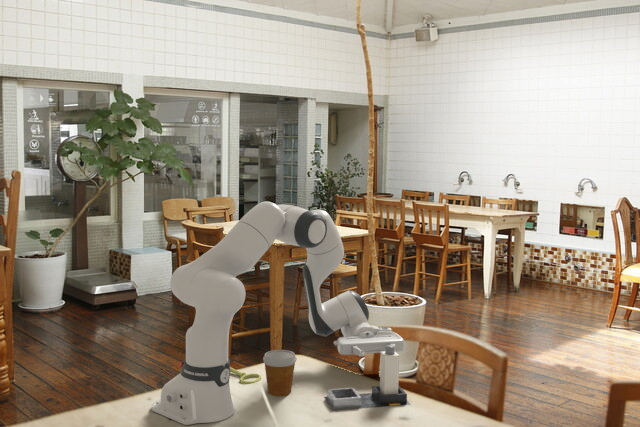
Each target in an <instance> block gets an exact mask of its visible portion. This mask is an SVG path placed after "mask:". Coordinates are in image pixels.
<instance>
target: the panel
mask: <svg viewBox="0 0 640 427" xmlns="http://www.w3.org/2000/svg"><path fill="white" fill-rule="evenodd" d="M326 393H327V394H326V396H323V398H324V400H325V401H326V402H327V404H328V406H329V408H330V409H331V410H332V411H331V412H335V411H346V410H359V409H373V408H386V407H399V406H409V405H411V403H410V402H409V401H408V394H407V392H406V391H405V390H404V389H403V388H402V387H401V386H400V385H399V384H398V394H387V395H382V394H381V393H380V385H372V386H371V392H370V393H369V392H367V393H366V392H365V393H359V392H358V391H357V390H356V389H355V387H344V388H343V387H342V388H341V387H340V388H329V389H327V392H326Z"/></svg>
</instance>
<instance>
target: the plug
mask: <svg viewBox="0 0 640 427" xmlns="http://www.w3.org/2000/svg"><path fill="white" fill-rule="evenodd" d="M379 369H380V370H379V374H380V375H379V376H380V378H379V386H380V393H381V394H382V395H387V394H398V385H399V384H400V383H399V379H400V378H399V377H400V376H399V375H400V374H399V373H400V354H398V353H397V352H395V346H393V345H386V346H385V351H382V352H381V353H380V368H379Z"/></svg>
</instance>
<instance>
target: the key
mask: <svg viewBox="0 0 640 427" xmlns="http://www.w3.org/2000/svg"><path fill="white" fill-rule="evenodd" d="M230 373H233V374H236V376H239V377H240V378H239V383H241V384H244V385H245V384H246V385H249V384H255V383H258V382H260V381H261V380H262V375H261V374H259V373H248V374H246V372H241V371H240V370H237V369H235V368H233V367H231V366H230ZM249 378H256V379H254V380H247V379H249Z"/></svg>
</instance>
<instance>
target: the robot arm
mask: <svg viewBox="0 0 640 427" xmlns="http://www.w3.org/2000/svg"><path fill="white" fill-rule="evenodd" d="M275 240H277V241H279V242H282V243H285V244H286V245H291V246H295V247H301V248H303V249H305V250H306V257H307V258H306V261H305V264H304V266H303V267H302V281H303V287H304V293H305V300H306V303H307V304H306V305H307V315H308V321H309V325H310V328H311V330H312V331H313V332H314V334H315V335H319V336H320V337H328V336H329V335H331V334H333V333H335V332H336V331H338V330H340V331H341V333H342V336H341V337H340V336H339V337H338V338H337V340H333V345H334V346H335V347H337V351H338V353H339V355H342V356H353V355H356V356H359V357H365V356H366V355H368V354H381V352H382V351H385V346H386V345H393V346H395V352H396V353H397V352H398V353H399V352H404V350H405V349H404V348H405V339H404V337H402V336H401V335H399V334H398V333H397V332H394V331H393V329H392V328H391V327H383V326H377V325H373V324H369V322H368V321H369V318H370V311H369V309H368V306H367V304H366V302H365V301H364V299H363V297H362V296H361V295H360V294H359V293H357V292H356V291H353V290H350V289H348V290H347V291H344V292H342V293H340V294H338V295H336V296H335V297H333V298H330V299H329V300H327V301H325V302H322V299H321V293H320V292H321V291H320V288H321V285H322V284H323V282H325V280H326V279H327V278H328V277H329V276H330V275H331V274H332V273H334V271H336V270H337V268H338V267H339V266H340V265H341V264H342V262H343V259H344V255H345V248H344V243H343V241H342V238H341V235H340V232H339V230H338V228H337V225H336V224H335V222H334V221H333V218H332V217H331V215H330V214H329V213H328V212H327V211H325V210H323V209H313V210H309V209H307V208H303V207H300V206H298V205H292V204H284V203H280V202H279V203H278V202H276V203H274V202H271V201H269V200H268V201H266V200H265V201H262V202H259V203H258V204H257V205H255V206H253V207H251V209H249V211H247V213H245V214H244V215H243V216H242V217H241V218H240V220H239V221H237V223H235V225H234V226H233V227H232V228H231V229H230V230H229V231H228V233H227V234H226V235H224V237H223V238H222V239H221V240H220V241H219V242H218V243H217V244H215V245H214V246H212V247H211V248H210V249H209V250H208V251H206V252H204V253H203V254H202V255H200V256H199V257H198V258H196V259H195V260H193V261H191V262H189V263H187V264H184V265H180V266H179V267H177V268H176V269H175V270H174V271H173V273H172V275H171V277H170V283H169V284H170V291H171V292H172V295H174V296H175V298H177V299H178V300H179V301H180V302H181V303H183V304H184V305H187V306H191V307H193V308H194V309H195V315H194V316H195V317H194V319H193V320H194V321H193V324H192V326H190V327H189V328H187V331H186V333H185V359H184V360H182V361H180V362H179V363H177V365H178V366H177V368H178V369H179V368H181V367H182V368H181V370H180V373H178V374H177V375H176V376H174V377H173V378H172V379H170V380H169V381H168V382H166V383H165V384H164V385H163V387H162V389H161V393H160V398H159V399H157V400H156V401H155V402H154V403H153V404H152V405H151V411H152V412H154V413H156V414H159V415H161V416H163V417H166V418H168V419H169V420H170V419H171V420H173V421H174V422H178V423H179V424H182V425H184V426H185V425H186V426H188V425H195V424H205V423H206V424H207V423H216V422H220V421H223V420H226V419H228V418H230V417H231V416H233V415H234V414H235V412H236V411H235V407H234V404H233V399H232V394H231V386H230V376H231V371H230V367H231V361H230V358H229V339H230V337H229V335H230V328H231V324H232V321H233V318H234V316H235V314H236V313H237V312H238V311H239V310H241V308H242V307H243V305H244V303H245V300H246V296H247V295H246V294H247V293H246V288H245V286H244V284H243V282H242V281H241V280H239V278H237V276H240V275H242V274H244V273H247V272H249V271H251V269H252V268H254V266H256V264H257V263H258V262H259V261H260V259H262V257H263V256H264V255H265V253H266V252H267V251H268V250H269V249H270V248H271V246H272V245H273V244H274V242H275Z"/></svg>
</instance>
